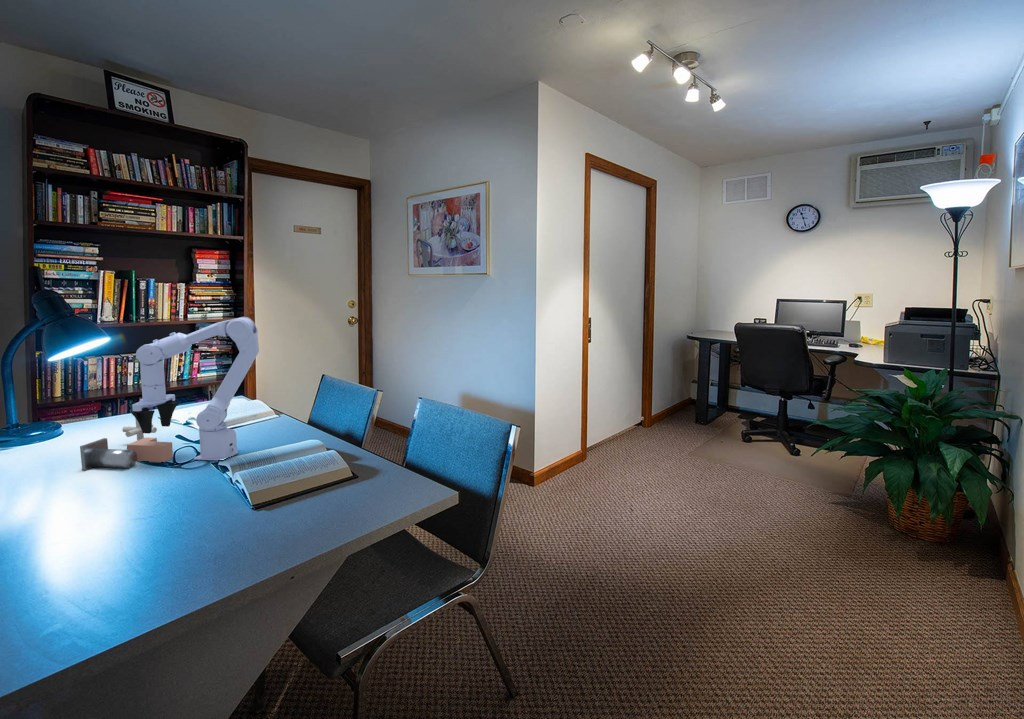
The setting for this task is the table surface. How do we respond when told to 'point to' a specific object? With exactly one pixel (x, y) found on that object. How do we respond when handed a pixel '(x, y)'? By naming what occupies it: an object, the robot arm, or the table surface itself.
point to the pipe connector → (136, 431)
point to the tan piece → (152, 450)
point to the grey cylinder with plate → (105, 456)
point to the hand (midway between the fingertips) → (156, 429)
